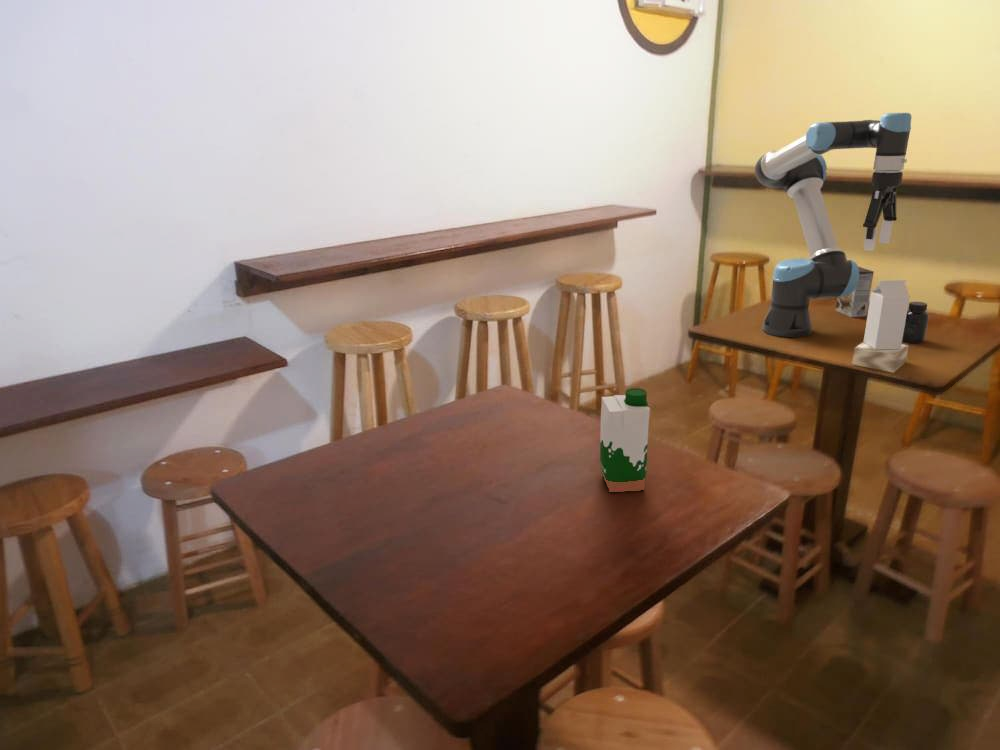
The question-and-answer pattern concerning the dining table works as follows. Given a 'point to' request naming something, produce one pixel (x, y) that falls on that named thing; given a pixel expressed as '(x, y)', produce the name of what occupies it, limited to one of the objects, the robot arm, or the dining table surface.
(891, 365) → the pedestal
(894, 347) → the milk carton
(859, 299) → the coffee box
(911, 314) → the supplement bottle
